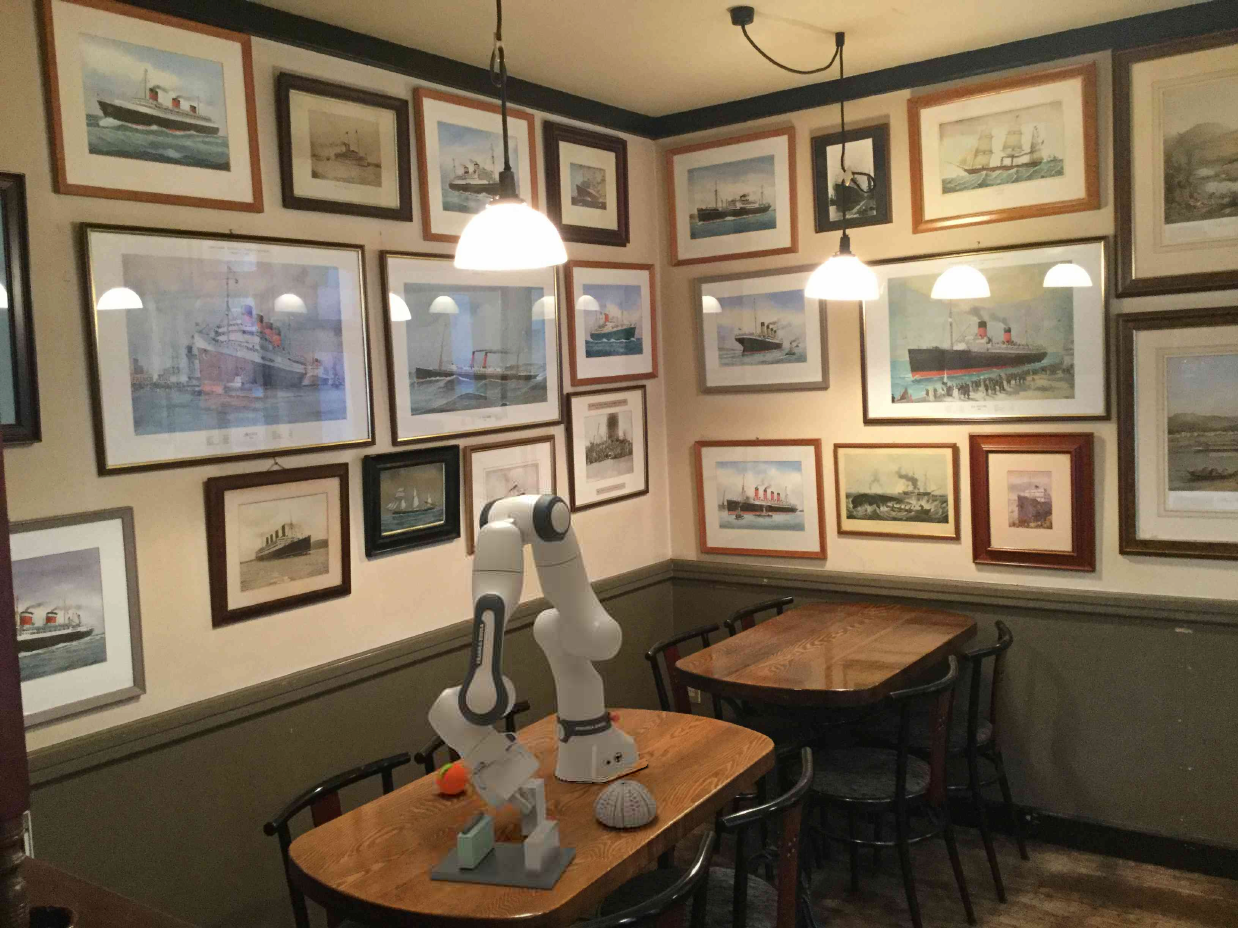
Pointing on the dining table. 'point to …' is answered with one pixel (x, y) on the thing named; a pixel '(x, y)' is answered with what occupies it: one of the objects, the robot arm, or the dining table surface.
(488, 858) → the vise
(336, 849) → the dining table surface
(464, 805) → the dining table surface
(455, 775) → the clementine
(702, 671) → the dining table surface
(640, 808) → the sea urchin shell
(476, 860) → the sliding jaw
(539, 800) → the block
